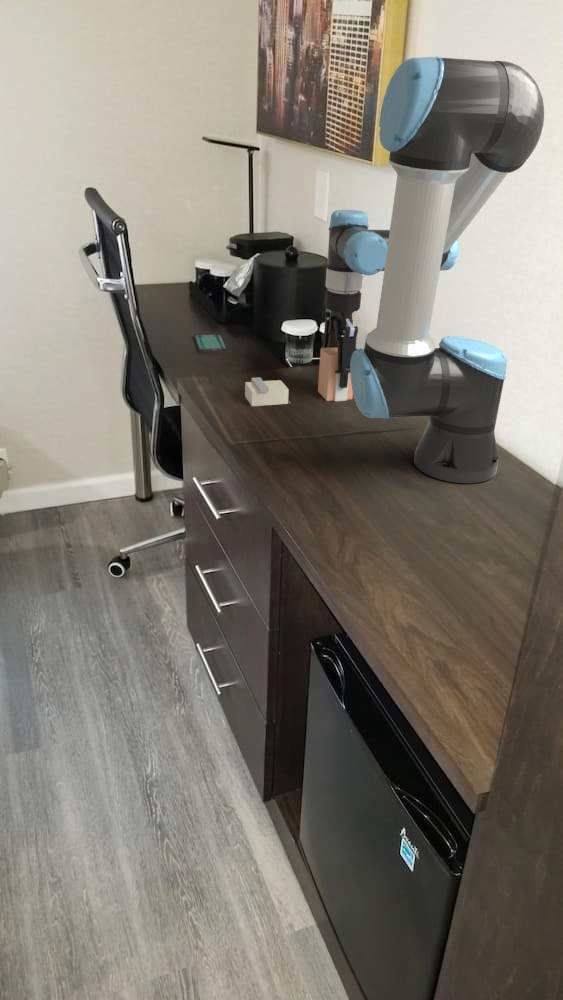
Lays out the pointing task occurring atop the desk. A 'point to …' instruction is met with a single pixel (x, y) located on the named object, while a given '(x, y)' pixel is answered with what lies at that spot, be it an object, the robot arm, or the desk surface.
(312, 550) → the desk surface
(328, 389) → the stub
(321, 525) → the desk surface
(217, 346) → the smartphone
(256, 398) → the cream block
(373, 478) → the desk surface
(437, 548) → the desk surface
